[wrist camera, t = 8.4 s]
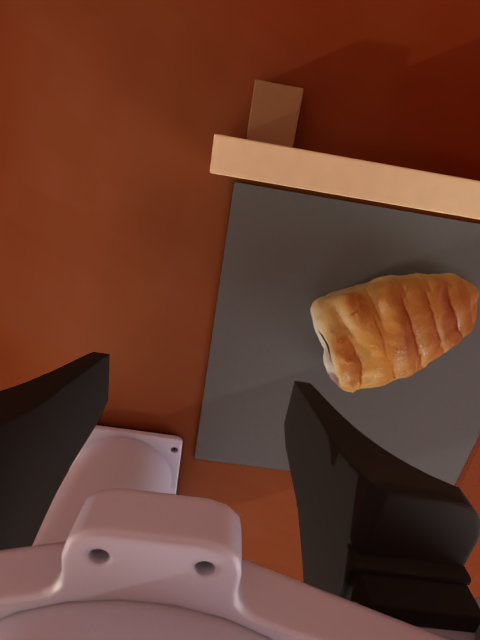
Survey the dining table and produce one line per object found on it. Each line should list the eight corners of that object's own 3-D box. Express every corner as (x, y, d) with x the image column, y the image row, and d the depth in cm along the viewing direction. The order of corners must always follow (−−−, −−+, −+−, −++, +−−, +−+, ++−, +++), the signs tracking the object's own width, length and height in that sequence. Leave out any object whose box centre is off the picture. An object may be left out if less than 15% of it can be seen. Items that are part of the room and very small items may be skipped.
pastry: (452, 240, 21) (495, 253, 17) (471, 338, 23) (512, 367, 20) (299, 298, 22) (310, 321, 19) (331, 385, 25) (346, 421, 21)
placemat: (450, 490, 28) (451, 491, 28) (194, 457, 27) (194, 458, 27) (573, 240, 21) (575, 240, 21) (234, 181, 20) (234, 181, 20)
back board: (591, 238, 21) (691, 255, 16) (217, 173, 20) (209, 172, 15) (634, 155, 19) (757, 149, 15) (229, 79, 18) (224, 46, 14)
